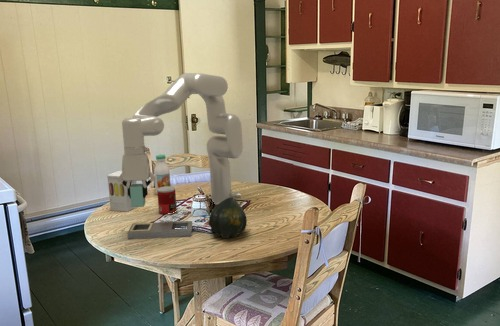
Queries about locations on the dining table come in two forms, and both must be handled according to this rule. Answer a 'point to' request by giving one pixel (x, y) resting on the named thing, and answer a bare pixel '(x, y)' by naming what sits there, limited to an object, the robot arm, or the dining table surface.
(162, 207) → the canned food
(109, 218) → the dining table surface
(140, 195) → the peg
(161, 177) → the milk bottle
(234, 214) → the squash
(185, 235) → the grey peg hole board
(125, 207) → the supplement box
